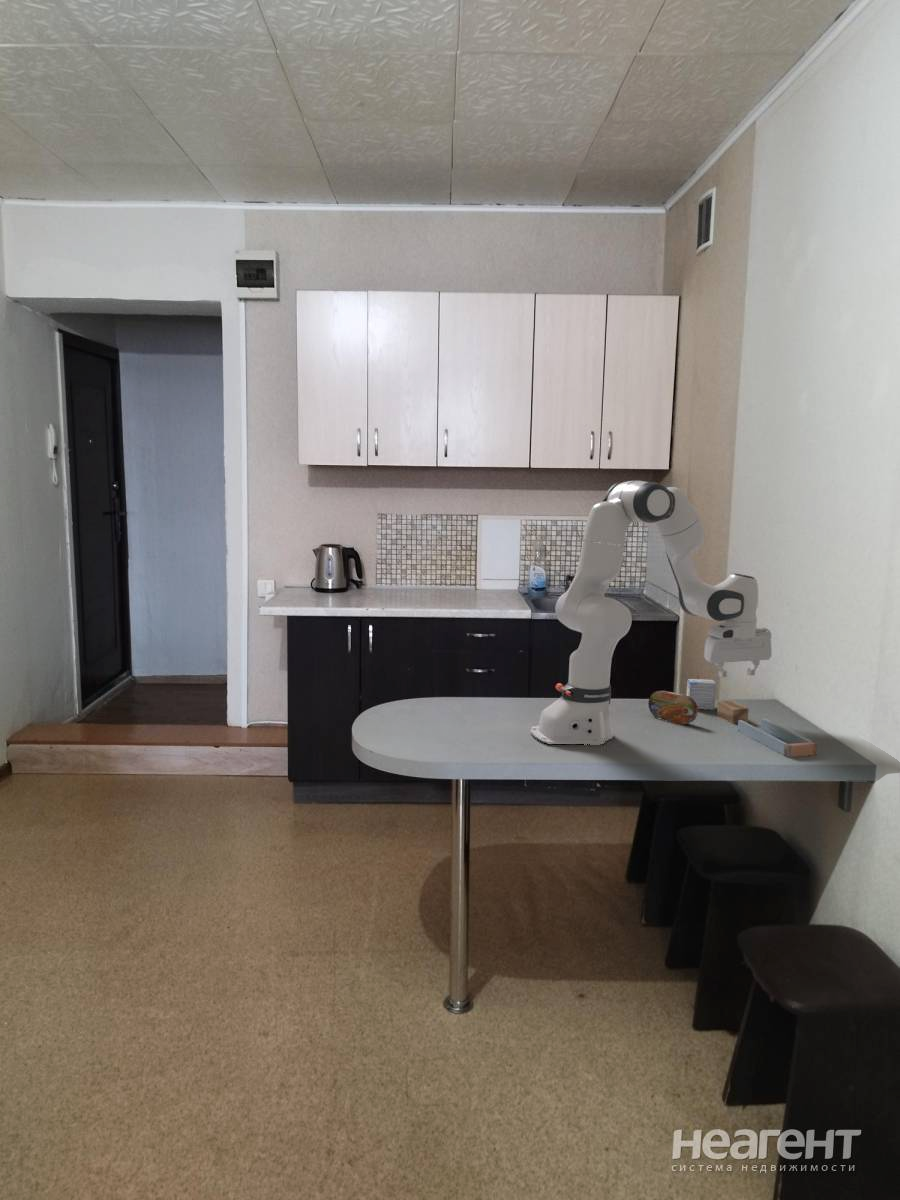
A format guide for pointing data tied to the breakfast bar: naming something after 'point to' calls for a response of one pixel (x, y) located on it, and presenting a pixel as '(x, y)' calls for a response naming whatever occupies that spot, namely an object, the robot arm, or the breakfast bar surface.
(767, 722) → the trap channel
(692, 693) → the medicine box
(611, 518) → the robot arm
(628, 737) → the breakfast bar surface
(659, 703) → the tin
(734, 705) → the tan block
